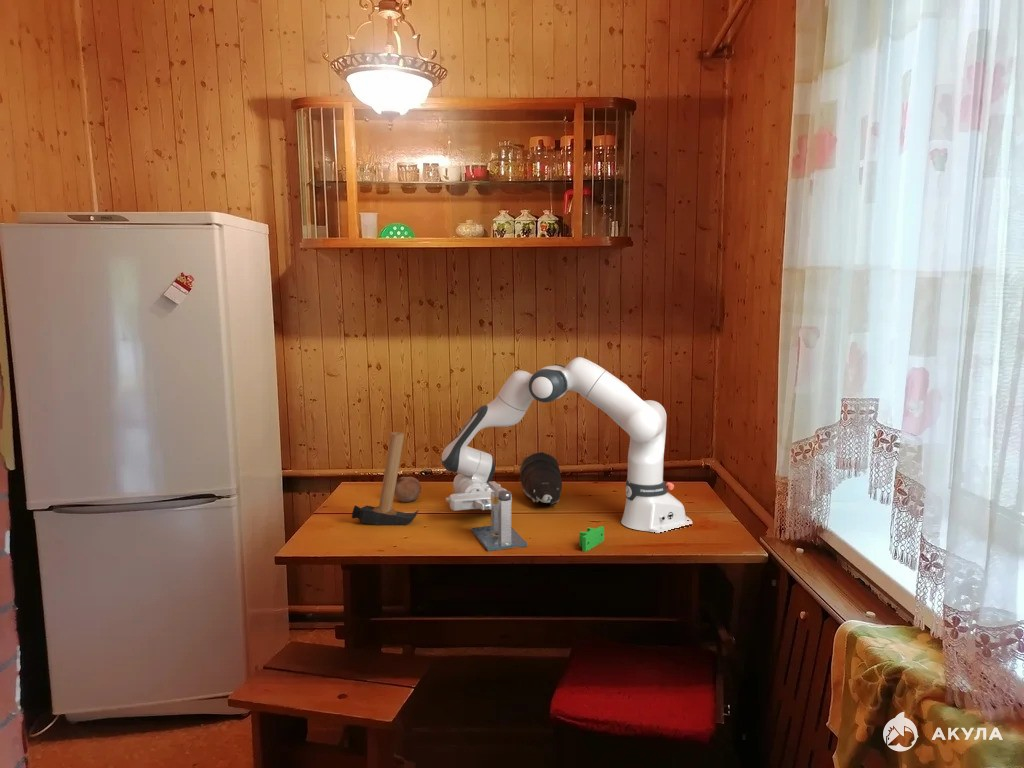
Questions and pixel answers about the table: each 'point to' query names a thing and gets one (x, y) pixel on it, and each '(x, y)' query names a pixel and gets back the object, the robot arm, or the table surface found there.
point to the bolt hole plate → (491, 539)
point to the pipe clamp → (591, 538)
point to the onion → (407, 489)
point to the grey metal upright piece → (503, 512)
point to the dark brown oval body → (541, 478)
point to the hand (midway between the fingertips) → (487, 507)
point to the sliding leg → (494, 512)
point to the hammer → (387, 492)
